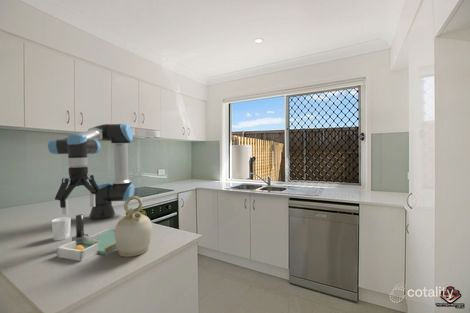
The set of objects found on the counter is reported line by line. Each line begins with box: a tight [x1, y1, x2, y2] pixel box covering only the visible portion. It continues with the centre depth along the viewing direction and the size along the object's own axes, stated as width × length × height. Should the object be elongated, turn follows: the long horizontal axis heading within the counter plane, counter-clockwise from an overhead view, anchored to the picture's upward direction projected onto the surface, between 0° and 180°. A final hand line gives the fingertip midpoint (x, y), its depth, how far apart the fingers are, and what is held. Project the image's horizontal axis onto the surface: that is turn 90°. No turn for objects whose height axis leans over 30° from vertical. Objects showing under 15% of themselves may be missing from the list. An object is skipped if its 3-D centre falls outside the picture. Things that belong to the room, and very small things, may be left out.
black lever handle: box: [71, 213, 100, 244], centre depth 102 cm, size 5×14×12 cm, turn 74°
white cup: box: [51, 216, 72, 241], centre depth 112 cm, size 8×8×10 cm
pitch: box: [76, 227, 118, 255], centre depth 108 cm, size 22×24×3 cm
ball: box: [74, 245, 84, 250], centre depth 94 cm, size 4×4×4 cm
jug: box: [114, 195, 153, 258], centre depth 97 cm, size 15×16×25 cm
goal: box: [56, 240, 99, 262], centre depth 93 cm, size 8×14×4 cm, turn 74°
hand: (79, 210), depth 104 cm, fingers open, 13 cm apart
